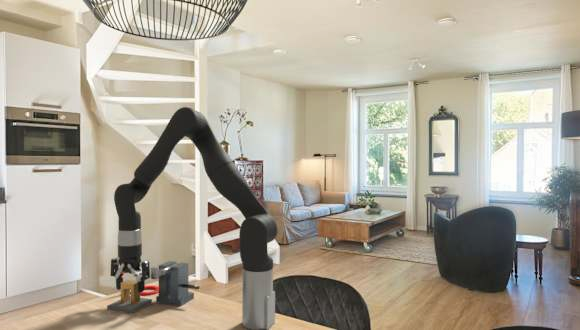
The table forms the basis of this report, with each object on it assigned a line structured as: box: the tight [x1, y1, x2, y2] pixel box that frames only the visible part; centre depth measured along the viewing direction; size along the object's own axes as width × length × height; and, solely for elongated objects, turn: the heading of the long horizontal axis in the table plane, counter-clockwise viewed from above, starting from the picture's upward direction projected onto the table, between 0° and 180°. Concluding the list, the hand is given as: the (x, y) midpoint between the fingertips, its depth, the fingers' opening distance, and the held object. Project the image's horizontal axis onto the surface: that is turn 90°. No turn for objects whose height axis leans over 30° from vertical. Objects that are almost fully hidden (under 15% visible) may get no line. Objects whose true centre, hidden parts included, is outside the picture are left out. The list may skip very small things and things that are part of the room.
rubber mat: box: [106, 295, 153, 314], centre depth 138 cm, size 10×10×1 cm
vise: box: [150, 260, 200, 307], centre depth 139 cm, size 15×16×14 cm
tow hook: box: [135, 266, 159, 296], centre depth 152 cm, size 8×13×9 cm
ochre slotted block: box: [120, 279, 141, 305], centre depth 138 cm, size 5×3×7 cm, turn 71°
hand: (130, 290), depth 138 cm, fingers open, 8 cm apart
